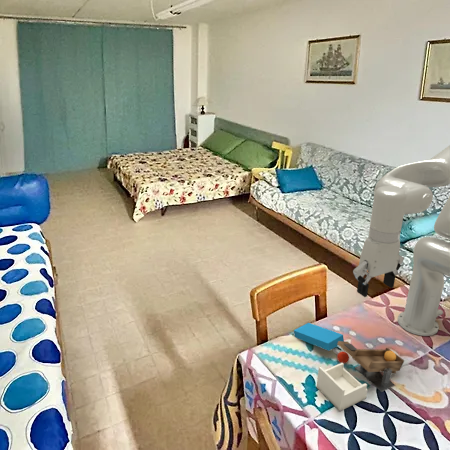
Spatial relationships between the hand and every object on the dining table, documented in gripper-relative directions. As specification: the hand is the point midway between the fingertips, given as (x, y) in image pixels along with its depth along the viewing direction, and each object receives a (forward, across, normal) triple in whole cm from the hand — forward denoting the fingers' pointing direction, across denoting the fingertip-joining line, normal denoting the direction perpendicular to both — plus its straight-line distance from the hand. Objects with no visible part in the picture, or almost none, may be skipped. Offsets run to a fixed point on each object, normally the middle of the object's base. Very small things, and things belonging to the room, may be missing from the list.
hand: (375, 289), depth 110 cm
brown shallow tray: (+21, +4, +4) cm, 21 cm away
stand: (+24, +3, +7) cm, 25 cm away
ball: (+19, -2, +7) cm, 20 cm away
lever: (+25, +8, -10) cm, 28 cm away
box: (+24, +15, +7) cm, 29 cm away
